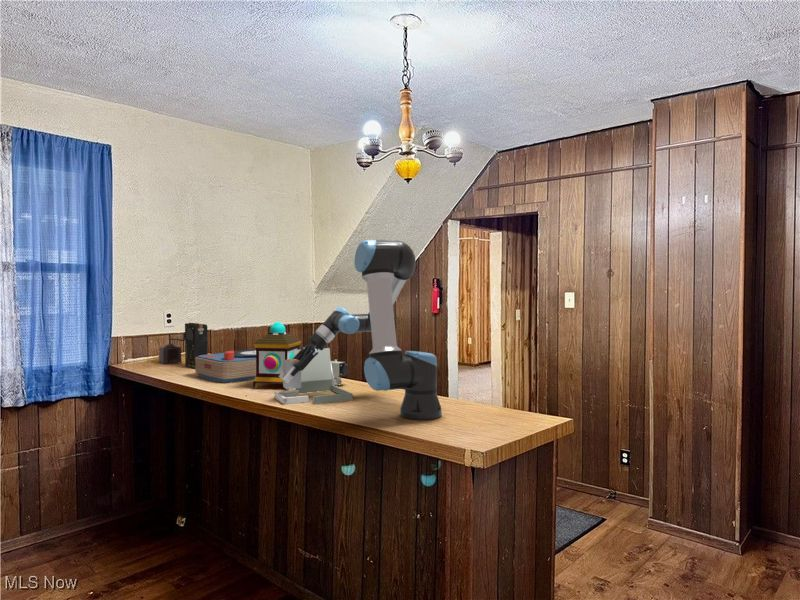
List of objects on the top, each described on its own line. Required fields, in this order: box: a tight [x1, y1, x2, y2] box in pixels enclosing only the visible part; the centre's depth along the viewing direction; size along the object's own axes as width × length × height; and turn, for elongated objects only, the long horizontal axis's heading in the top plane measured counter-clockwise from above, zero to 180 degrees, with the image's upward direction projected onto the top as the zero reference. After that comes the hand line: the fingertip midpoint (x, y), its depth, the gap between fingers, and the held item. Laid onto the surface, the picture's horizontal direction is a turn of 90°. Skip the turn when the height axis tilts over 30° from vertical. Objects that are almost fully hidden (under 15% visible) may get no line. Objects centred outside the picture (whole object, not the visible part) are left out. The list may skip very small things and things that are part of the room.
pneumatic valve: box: [330, 359, 349, 386], centre depth 263 cm, size 6×12×12 cm, turn 60°
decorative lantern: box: [252, 321, 302, 391], centre depth 260 cm, size 20×20×30 cm
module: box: [282, 359, 301, 390], centre depth 230 cm, size 6×6×11 cm
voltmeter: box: [184, 322, 209, 370], centre depth 317 cm, size 16×9×25 cm, turn 43°
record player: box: [195, 348, 256, 384], centre depth 292 cm, size 44×36×15 cm
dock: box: [274, 389, 309, 406], centre depth 230 cm, size 14×10×2 cm
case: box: [293, 347, 353, 405], centre depth 237 cm, size 27×18×19 cm, turn 27°
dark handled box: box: [158, 332, 185, 365], centre depth 336 cm, size 16×11×18 cm
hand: (283, 379), depth 228 cm, fingers closed on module, 5 cm apart
